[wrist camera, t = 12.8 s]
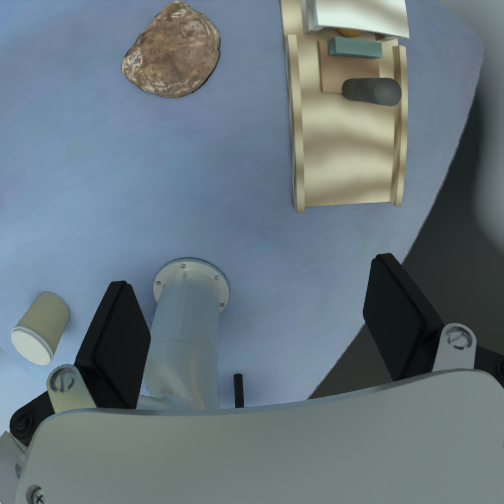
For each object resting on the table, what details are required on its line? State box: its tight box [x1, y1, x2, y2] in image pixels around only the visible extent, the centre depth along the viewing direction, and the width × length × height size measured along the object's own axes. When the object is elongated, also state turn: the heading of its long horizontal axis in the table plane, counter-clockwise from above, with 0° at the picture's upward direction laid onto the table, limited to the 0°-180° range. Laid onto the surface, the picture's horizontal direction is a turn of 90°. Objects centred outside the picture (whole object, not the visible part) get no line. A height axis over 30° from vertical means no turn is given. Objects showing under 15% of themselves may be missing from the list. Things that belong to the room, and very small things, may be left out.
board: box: [280, 0, 409, 214], centre depth 31 cm, size 30×16×8 cm, turn 5°
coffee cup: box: [11, 292, 70, 365], centre depth 44 cm, size 9×9×12 cm
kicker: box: [317, 37, 402, 107], centre depth 26 cm, size 8×8×11 cm
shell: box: [121, 1, 220, 97], centre depth 29 cm, size 12×13×4 cm
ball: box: [336, 28, 364, 37], centre depth 26 cm, size 4×4×4 cm
